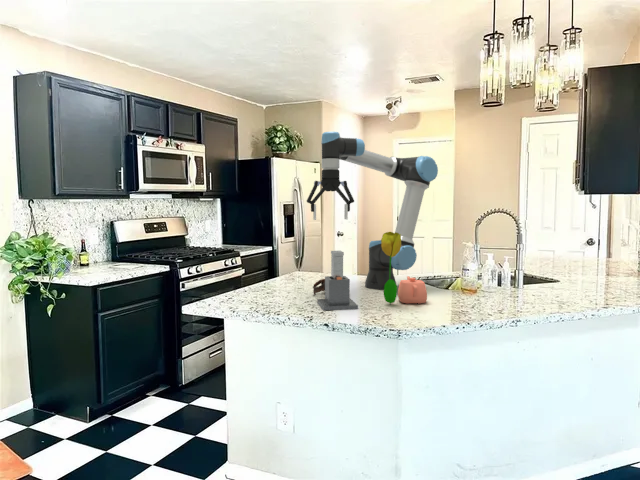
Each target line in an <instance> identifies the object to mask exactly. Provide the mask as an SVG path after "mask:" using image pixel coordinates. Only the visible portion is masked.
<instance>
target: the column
mask: <svg viewBox="0 0 640 480" xmlns="http://www.w3.org/2000/svg"><path fill="white" fill-rule="evenodd" d="M330 255H331V257H330V258H331V261H330V262H331V264H330V265H331V266H330V268H331V269H330V270H331V272H330V274H331V279H336V277H342V279H343V276H344V255H345V253H344V251H342V250H330Z"/></svg>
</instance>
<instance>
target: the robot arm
mask: <svg viewBox="0 0 640 480" xmlns="http://www.w3.org/2000/svg"><path fill="white" fill-rule="evenodd" d="M365 147H366V143H365V142H364V140H363V139H361V138H357V137H353V138H352V137H341V135H340V132H338V131H325V132H323V133H322V134H321V169H322V170H321V181H320V180H314V182H313V187H312V189H311V190H310V193H309V195H308V197H307V199H306V203H307V204H310V211H311V213H312V212H313V216H312V217H313V218H312V219H313V221H315V220H317V204H316V202H317V201H318V200H319V199H320V198H321V196H322V194H323V193H325V192H335V191H336V193H337V194H338V195H339V196H340V197H341V199H343V201H344V202H345V203H344V211H343V212H344V220H348V219H349V217H348V212H351V204H352V203H355V199H354V197H353V195H352V193H351V191H350V189H349V186H348V182H347V180H343V181H341V180H340V170H339V169H340V160H341V161H344V162H348V163H350V164H354V165H358V166H361V167H364V168H368V169H371V170H374V171H377V172H381V173H384V175H385V176H387V177H391V178H394V179H396V180H399V181H402V182H404V184H405V187H406V188H405V192H404V194H403V199H402V203H401V207H400V211H399V215H398V219H397V223H396V227H395V230H394V233H395V232H397V233H399V234H401V248H400V251H399V252H398V253H397V254H396V255H395V256H393V257H391V271H390V256H388V255H386V254H385V253H384V252H383V250H382V247H381V239H379V240H370V242H369V245H368V273H367V275H366V279H365V281H364V282H365V283H364V286H365V287H366V288H367V289H374V290H384V286H385V283H386V282H387V281H388V280H389V274H390V279H391V280H392V279H393V280H394V282H395V283H396V284H397V282H396V279H395V278H396V277H395V275H394V272H393V270H396V271H407V270H409V269H410V268H412V267H413V266H414V265H415V264H416V261H417V252H416V249H415V242H414V240H413V238H414V234H415V230H416V226H417V222H418V218H419V214H420V210H421V206H422V202H423V198H424V194H425V191H426V190H428V189H429V188H430V184H431V182H433V181H434V180H436V178H437V177H438V173H439V168H438V164H437V163H436V160H435V159H434V158H433V157H431V156H428V155H420V156H413V157H412V156H411V157H396V156H390V157H389V156H386V155H382V154H380V153H376V152H373V151H370V150H367V149H366V148H365ZM320 185H321V187H322V188H321V189H320V190H319V191H318V193H317V194H316V195H315V193H316V190H317V188H318V187H319V186H320ZM340 186H342V187H343V189H344V191H345V194H346V195H347V197H346V195H345V194H344V192H343V191H342V190H341V189H340ZM313 197H314V198H313ZM312 198H313V199H312Z"/></svg>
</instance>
